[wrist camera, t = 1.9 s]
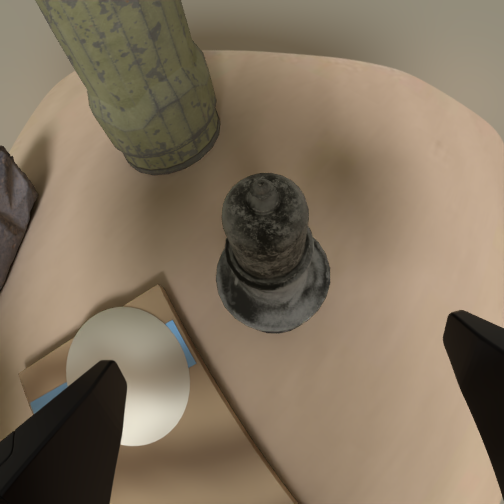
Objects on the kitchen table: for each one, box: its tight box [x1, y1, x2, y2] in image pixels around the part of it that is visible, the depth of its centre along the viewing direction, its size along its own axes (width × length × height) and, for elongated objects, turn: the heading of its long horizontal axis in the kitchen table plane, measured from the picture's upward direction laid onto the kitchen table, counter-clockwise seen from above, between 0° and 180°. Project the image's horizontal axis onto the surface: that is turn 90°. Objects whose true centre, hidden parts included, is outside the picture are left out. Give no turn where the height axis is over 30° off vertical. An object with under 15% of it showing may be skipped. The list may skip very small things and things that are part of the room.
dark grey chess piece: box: [216, 173, 330, 333], centre depth 14 cm, size 6×6×12 cm
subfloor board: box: [19, 284, 298, 504], centre depth 16 cm, size 20×14×1 cm
